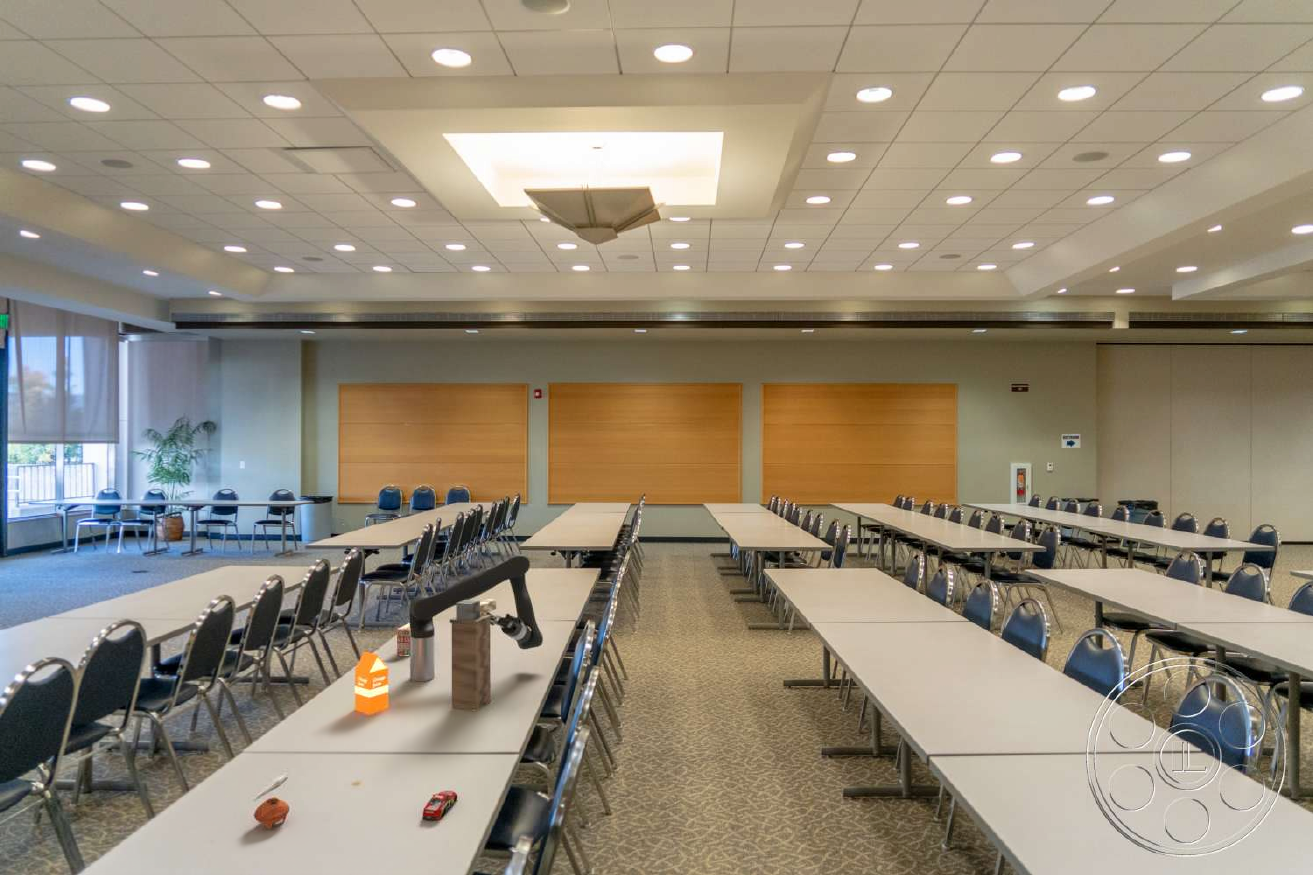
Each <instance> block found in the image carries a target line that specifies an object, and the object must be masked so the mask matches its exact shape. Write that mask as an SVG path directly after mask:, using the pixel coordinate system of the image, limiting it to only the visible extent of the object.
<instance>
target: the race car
mask: <svg viewBox="0 0 1313 875" xmlns="http://www.w3.org/2000/svg"><path fill="white" fill-rule="evenodd" d="M456 802H458V794H457V792H455V791H453V790H444V791H440V792H438V793H435V794H432V797H431V798H430V800H428V802H427V803H426V805H425V806H424V807H423V810H422V819H424V820H432V821H433V820H434V821H435V820H440V819H442V818H443V817H444V816H445V815H446V814H447V813H448V811H449V810H450V809H451V808H452V806H453V805H455V803H456Z"/></svg>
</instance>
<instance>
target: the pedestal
mask: <svg viewBox="0 0 1313 875" xmlns="http://www.w3.org/2000/svg"><path fill="white" fill-rule="evenodd" d="M492 615H493V614H492ZM492 615H487V614H486V613H485V614H483V615H480V617H479V618H477V619H474V620H472V621H467V620H456V616H455V617H453V618H450V619H449V623H450V624H451V709H454V710H462V711H470V710H475V711H474V712H477V711H479V710H481V709H482V708H484V707H485V706H487V705H488V704H490V703H491V702H492V701H491V696H492V695H491V694H492V693H491V684H492V683H491V624H490V619H492ZM487 703H488V704H487ZM486 704H487V705H486ZM483 706H484V707H483Z"/></svg>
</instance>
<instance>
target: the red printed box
mask: <svg viewBox="0 0 1313 875" xmlns="http://www.w3.org/2000/svg"><path fill="white" fill-rule="evenodd" d="M396 630H397V631H396V645H397V646H396V649H397V650H396V656H397V655H409V656H408V657H411V656H410V655H411V631H410V622H408V623H406V624H404V625H402V626H401V627H399V628H397V629H396Z"/></svg>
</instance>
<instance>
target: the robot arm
mask: <svg viewBox="0 0 1313 875" xmlns="http://www.w3.org/2000/svg"><path fill="white" fill-rule="evenodd" d="M530 563H531V562H530V560H529V558H528V557H527V556H525V555H524V554H515V555H512V556H511V557H510V558H508V559H506V560H505V561H503V562H501V563H500V564H497V565H495V566H492V567H489V568H486V569H482V570H480V571H476V572H473V573H472V574H469V575H467V576H465V577H462V578H461V579H459V580H458V581H456V582H454V583H453V584H452V585H451V586H450V587H448V588H447V589H445V590H443V591H441V592H439V593H436V594H432V595H431V596H428V595H427V594H419V595H416V596H415V597H414V598H412V599H411V601H410V604H409V612H408V613H409V623H410V631H411V656H409V657H410V658H409V664H410V665H409V679H410V682H412V681H414V682H425V681H427V682H428V681H431V680H433V679H434V678H435V677H436V676H435V674H436V671H435V669H436V668H435V664H436V663H435V661H436V660H435V649H436V648H435V638H436V637H435V633H436V632H435V626H434V620H433V618H434V617H436V616H437V615H439V614H441V613H442V612H444V611H446V610H448V609H451V608H452V607H455V606H456V603H458V602H461V601H463V600H473V599H475V598H476V597H478V596H480V595H482V594H485V593H486V592H488V591H489V590H492V589H493V588H495V587H496V586H497V585H500V584H501V583H503V582H506V581H508V580H509V583H510V585H511V589H512V593H513V597H514V603H515V609H516V615H517V616H515V615H511V614H510V613H506V614H505V616H501V615H493V614H492V613H491V612H488V613H485V614H487V615H492V619H490V626H495V625H496V626H498V627H500V629H501V631H502V632H503V634H505V635H506V636H508V637H509V638H511V639H513V640H515V641H516V643H517V645H518V648H519V649H521V650H529V649H534V648H539V647H541V646H542V644H543V641H544V639H543V638H544V637H543V633H542V632H541V630H540V628H539V626H538V624H537V621H536V617H535V612H534V608H533V607H534V606H533V602H532V599H531V596H530V593H529V591H528V587H527V582H526V573H527V572H528V571H529V569H530V566H531V564H530Z"/></svg>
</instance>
